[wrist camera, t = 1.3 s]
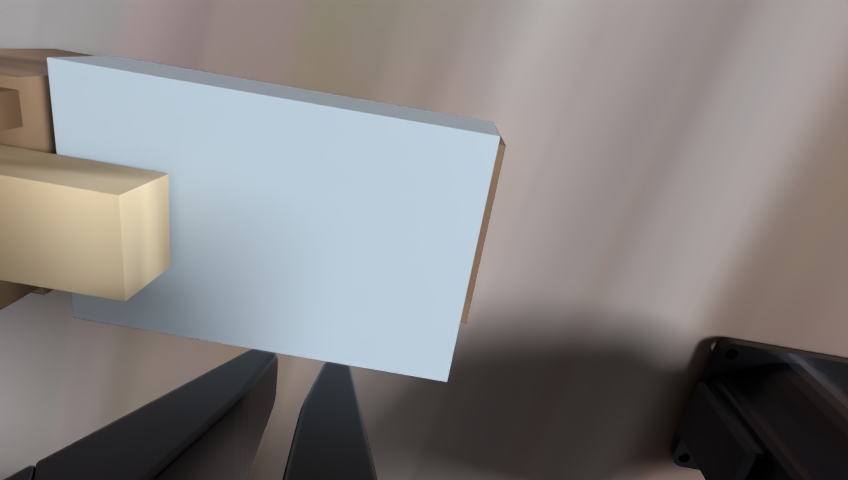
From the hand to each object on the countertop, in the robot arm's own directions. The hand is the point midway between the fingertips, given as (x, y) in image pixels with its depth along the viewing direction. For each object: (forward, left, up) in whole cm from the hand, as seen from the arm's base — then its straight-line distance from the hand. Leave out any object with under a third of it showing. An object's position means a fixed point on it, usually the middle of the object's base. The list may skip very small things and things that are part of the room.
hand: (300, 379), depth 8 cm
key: (+9, 0, -5) cm, 10 cm away
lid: (+3, 0, -8) cm, 8 cm away
